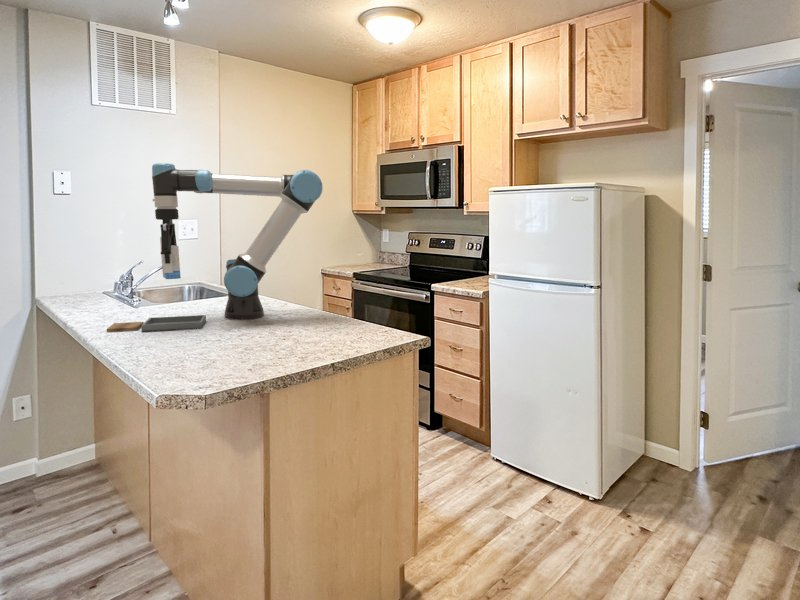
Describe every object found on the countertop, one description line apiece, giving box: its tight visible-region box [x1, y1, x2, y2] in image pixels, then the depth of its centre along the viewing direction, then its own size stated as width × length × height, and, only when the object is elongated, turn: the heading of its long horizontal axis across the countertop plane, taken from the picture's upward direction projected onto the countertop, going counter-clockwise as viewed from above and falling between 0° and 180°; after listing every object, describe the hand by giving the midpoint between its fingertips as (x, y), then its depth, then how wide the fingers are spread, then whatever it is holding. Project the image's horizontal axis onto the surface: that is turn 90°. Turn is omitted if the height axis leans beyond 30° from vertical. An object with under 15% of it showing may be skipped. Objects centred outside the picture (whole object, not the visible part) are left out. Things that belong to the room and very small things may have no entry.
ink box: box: [159, 236, 182, 280], centre depth 190 cm, size 8×5×15 cm, turn 33°
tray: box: [140, 314, 207, 333], centre depth 194 cm, size 20×14×2 cm
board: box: [106, 321, 145, 333], centre depth 192 cm, size 10×10×1 cm
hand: (171, 271), depth 191 cm, fingers closed on ink box, 9 cm apart
